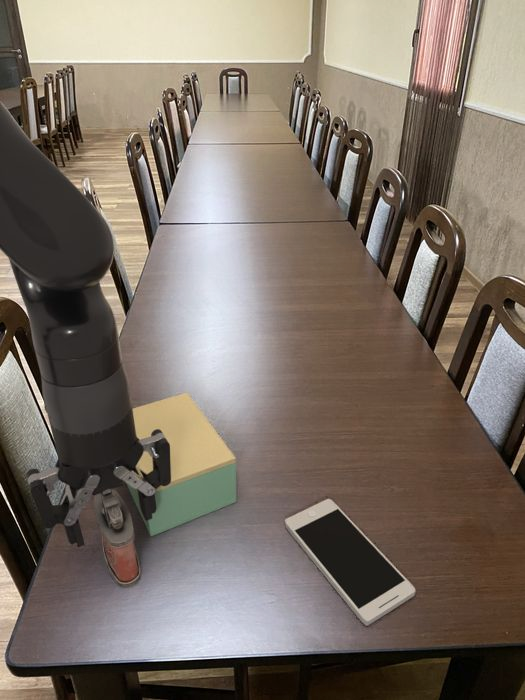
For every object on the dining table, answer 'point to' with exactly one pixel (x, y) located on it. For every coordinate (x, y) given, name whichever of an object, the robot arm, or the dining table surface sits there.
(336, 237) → the dining table surface
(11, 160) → the robot arm
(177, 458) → the lunchbox lid
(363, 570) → the smartphone
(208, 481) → the box
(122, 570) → the lighter
